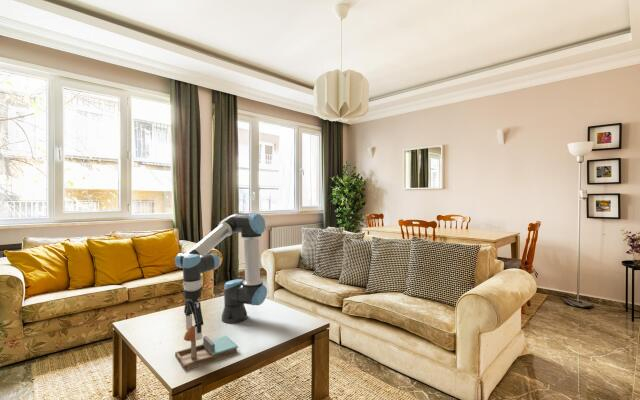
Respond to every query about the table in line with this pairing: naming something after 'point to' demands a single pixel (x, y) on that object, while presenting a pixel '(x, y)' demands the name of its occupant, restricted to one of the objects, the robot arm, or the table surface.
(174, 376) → the table surface
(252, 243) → the robot arm
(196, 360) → the board
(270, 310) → the table surface
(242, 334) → the table surface
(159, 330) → the table surface
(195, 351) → the mushroom
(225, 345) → the lid
